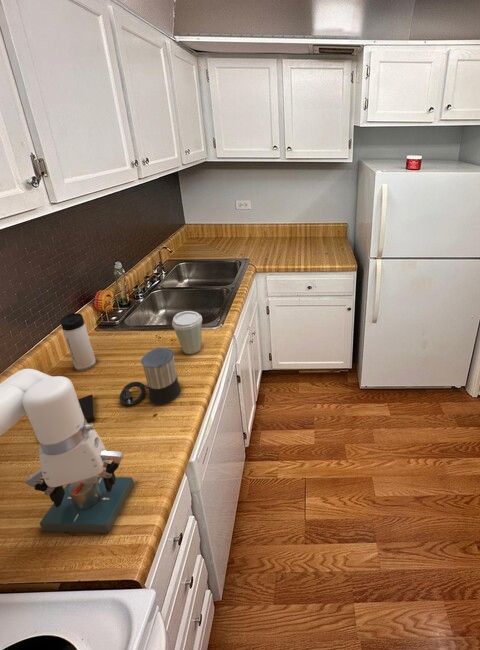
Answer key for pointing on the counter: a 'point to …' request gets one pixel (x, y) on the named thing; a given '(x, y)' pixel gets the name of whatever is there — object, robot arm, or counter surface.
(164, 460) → the counter surface
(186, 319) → the disposable coffee cup
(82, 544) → the counter surface
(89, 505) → the dial knob
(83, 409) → the button box
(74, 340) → the travel mug
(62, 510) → the dial panel
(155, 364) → the milk frother
